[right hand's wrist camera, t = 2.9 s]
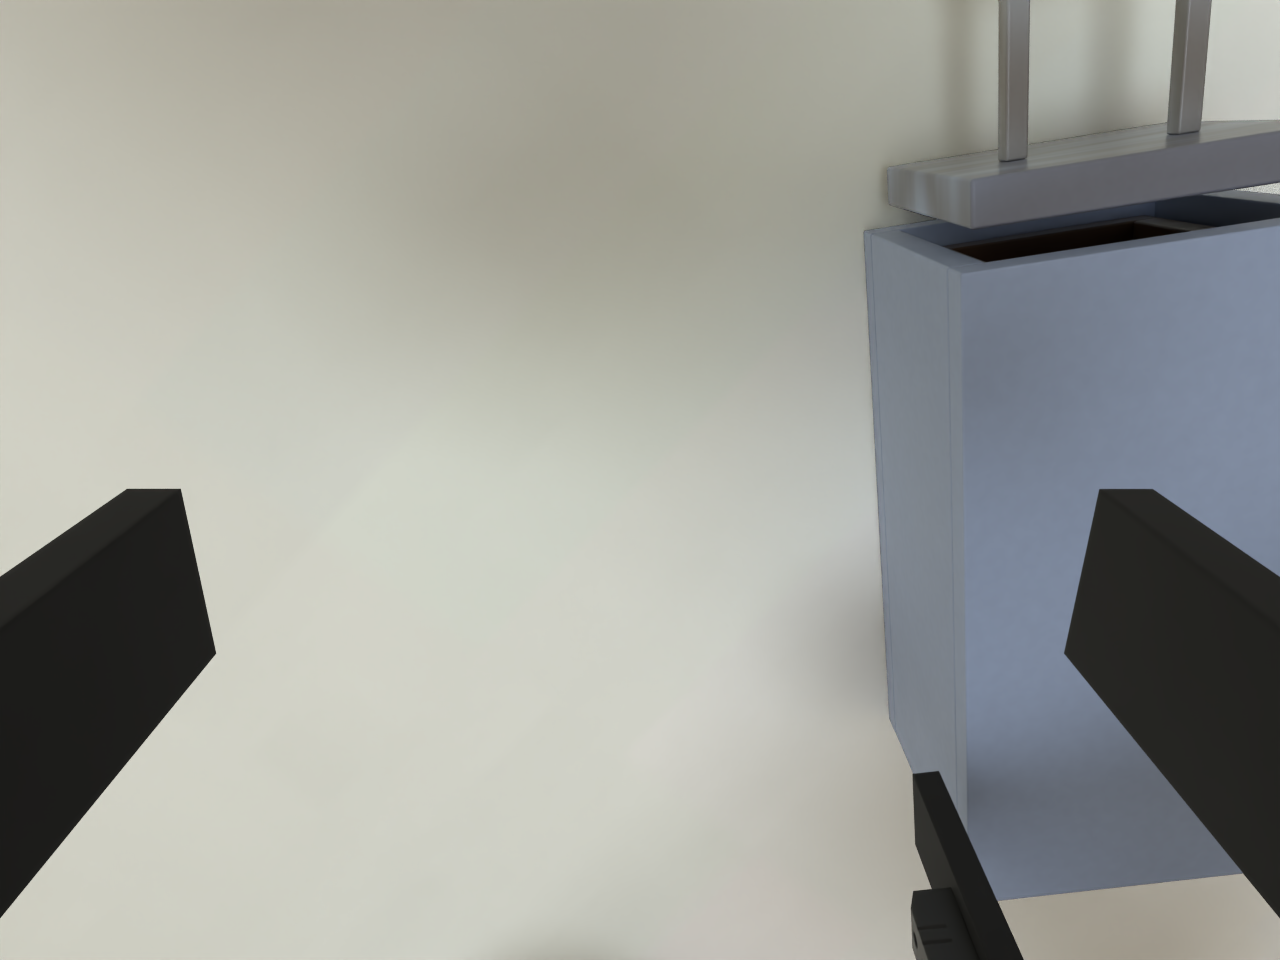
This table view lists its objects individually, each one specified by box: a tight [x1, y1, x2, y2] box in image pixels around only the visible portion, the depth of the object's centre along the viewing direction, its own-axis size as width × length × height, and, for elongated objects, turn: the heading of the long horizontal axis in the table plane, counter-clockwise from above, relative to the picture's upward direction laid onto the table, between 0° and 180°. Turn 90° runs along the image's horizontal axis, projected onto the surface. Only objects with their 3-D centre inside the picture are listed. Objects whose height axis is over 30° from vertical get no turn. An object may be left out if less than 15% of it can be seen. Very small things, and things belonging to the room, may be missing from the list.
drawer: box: [887, 0, 1280, 263], centre depth 26 cm, size 25×9×8 cm, turn 9°
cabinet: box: [864, 190, 1280, 901], centre depth 28 cm, size 20×10×10 cm, turn 9°
